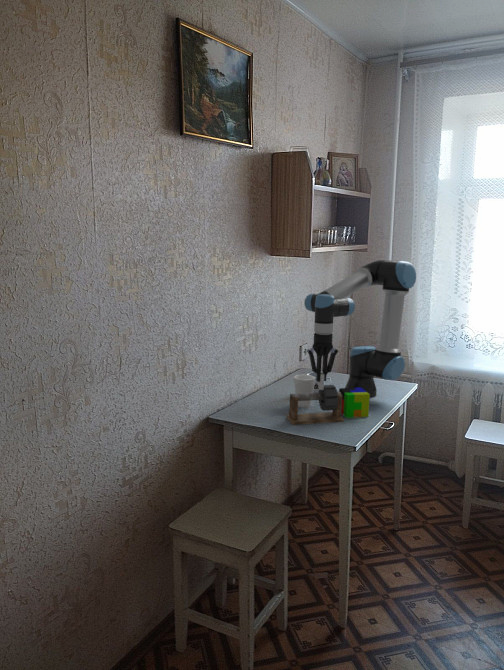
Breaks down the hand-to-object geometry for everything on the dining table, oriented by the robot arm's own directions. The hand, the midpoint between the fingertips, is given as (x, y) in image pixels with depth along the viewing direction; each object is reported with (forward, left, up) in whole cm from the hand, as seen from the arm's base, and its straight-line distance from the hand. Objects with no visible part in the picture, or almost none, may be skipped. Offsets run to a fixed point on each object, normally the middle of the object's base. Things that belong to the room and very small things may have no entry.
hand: (320, 388), depth 225 cm
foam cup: (+1, -19, -13) cm, 23 cm away
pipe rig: (+2, 0, -13) cm, 13 cm away
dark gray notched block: (-3, 0, -4) cm, 5 cm away
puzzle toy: (-17, -5, -14) cm, 22 cm away
